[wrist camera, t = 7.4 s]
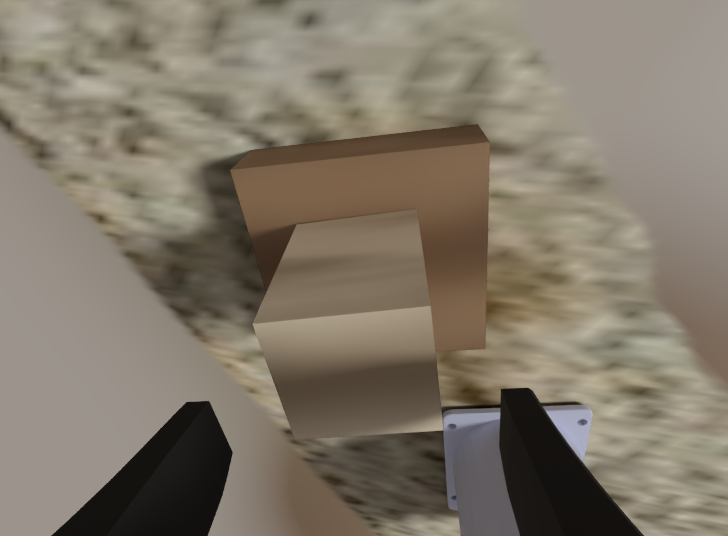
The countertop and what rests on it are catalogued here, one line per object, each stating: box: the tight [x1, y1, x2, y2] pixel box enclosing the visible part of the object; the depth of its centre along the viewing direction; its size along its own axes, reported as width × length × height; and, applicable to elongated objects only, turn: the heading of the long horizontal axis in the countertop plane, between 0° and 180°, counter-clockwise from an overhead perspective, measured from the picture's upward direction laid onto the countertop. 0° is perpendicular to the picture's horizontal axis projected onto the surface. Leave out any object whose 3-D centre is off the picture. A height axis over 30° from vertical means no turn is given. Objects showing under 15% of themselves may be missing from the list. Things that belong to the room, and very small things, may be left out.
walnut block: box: [230, 124, 490, 351], centre depth 18 cm, size 9×9×3 cm
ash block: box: [253, 209, 443, 440], centre depth 14 cm, size 4×4×6 cm
